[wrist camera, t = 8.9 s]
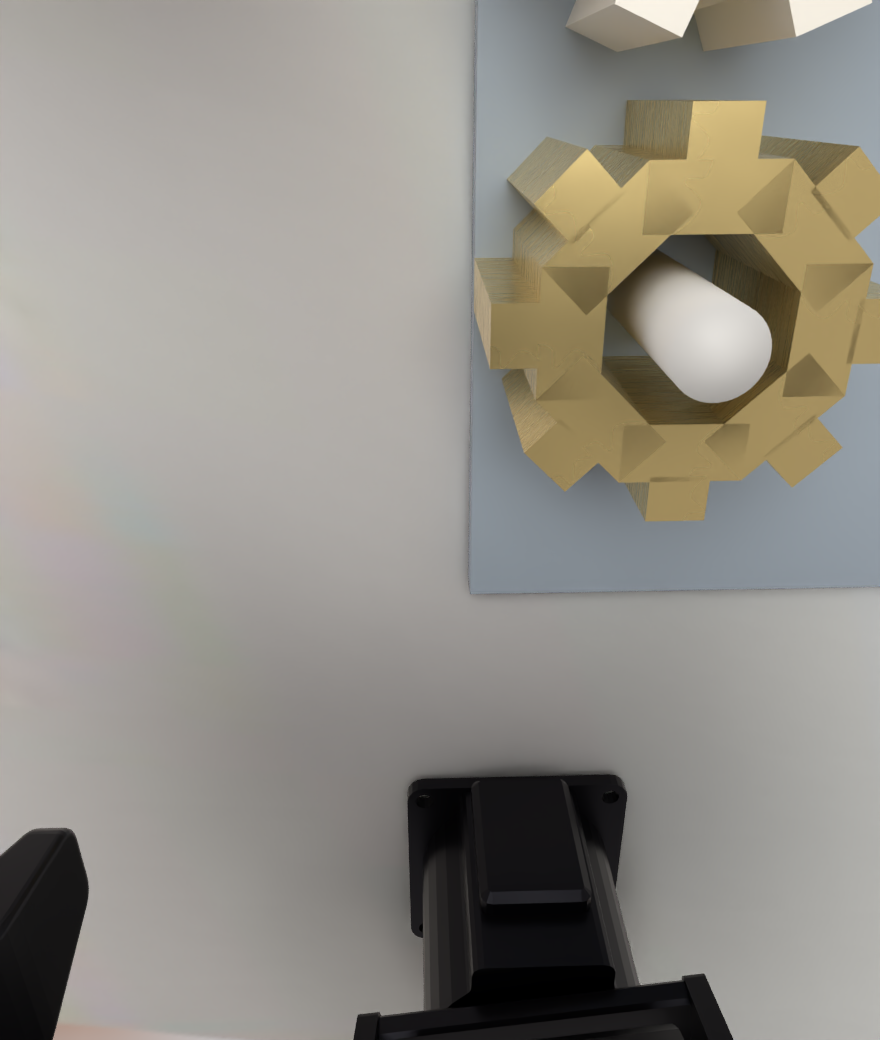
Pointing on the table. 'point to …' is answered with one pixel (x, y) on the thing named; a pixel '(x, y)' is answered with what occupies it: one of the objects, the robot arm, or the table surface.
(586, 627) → the table surface
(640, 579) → the gear board
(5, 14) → the table surface
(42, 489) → the table surface
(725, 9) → the cream gear
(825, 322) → the brass gear
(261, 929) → the table surface
